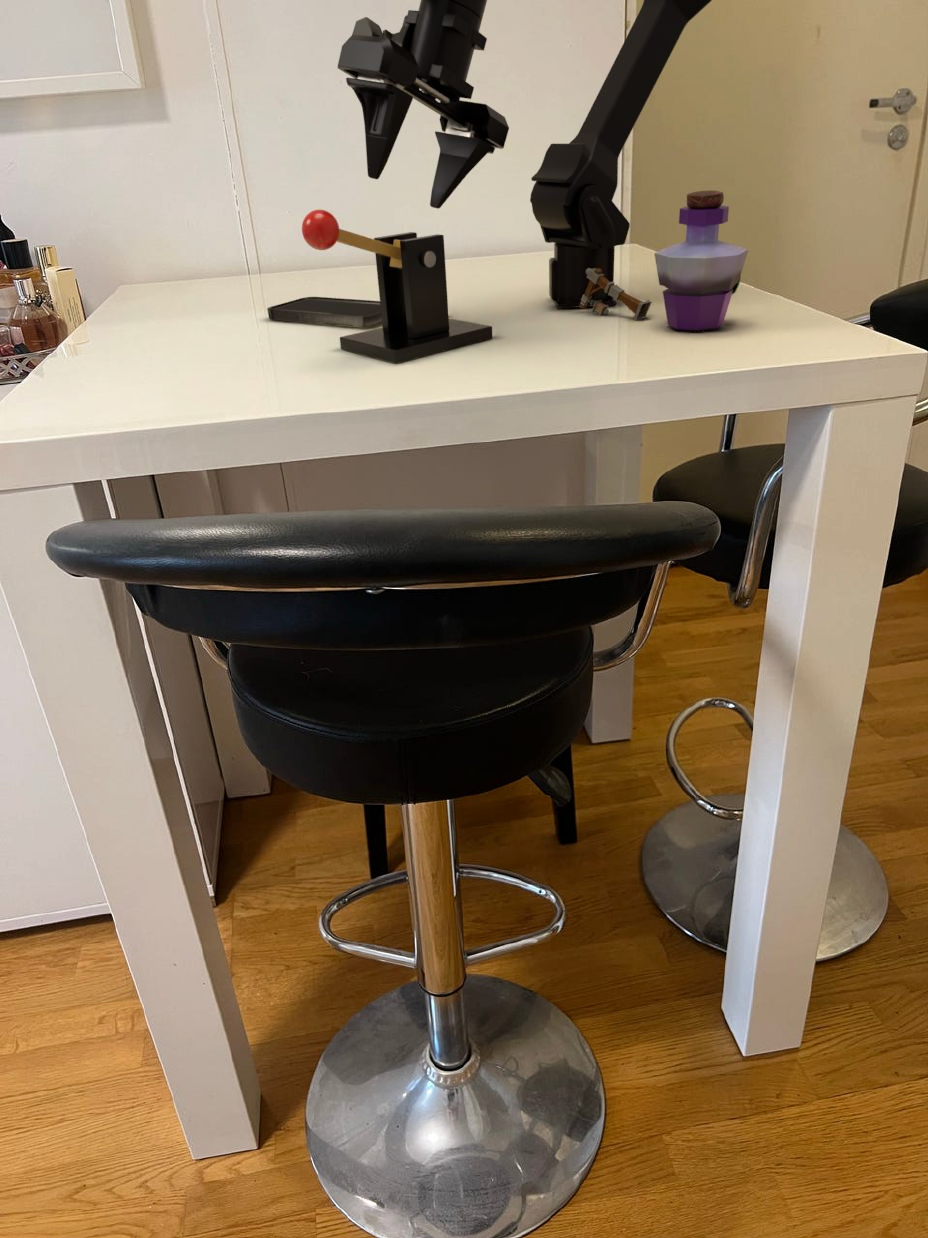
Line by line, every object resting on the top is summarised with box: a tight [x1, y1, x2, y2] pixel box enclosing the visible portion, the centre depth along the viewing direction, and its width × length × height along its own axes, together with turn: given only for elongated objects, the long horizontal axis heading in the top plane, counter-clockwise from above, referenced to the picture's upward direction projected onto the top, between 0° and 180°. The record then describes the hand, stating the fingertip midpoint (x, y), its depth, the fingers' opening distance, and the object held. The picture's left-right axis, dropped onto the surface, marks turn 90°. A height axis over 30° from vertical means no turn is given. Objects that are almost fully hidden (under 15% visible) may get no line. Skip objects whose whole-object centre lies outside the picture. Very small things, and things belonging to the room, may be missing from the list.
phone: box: [266, 296, 382, 328], centre depth 100 cm, size 8×1×15 cm
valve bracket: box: [339, 231, 494, 364], centre depth 85 cm, size 12×9×10 cm
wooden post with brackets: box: [578, 268, 653, 321], centre depth 93 cm, size 2×8×4 cm, turn 48°
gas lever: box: [301, 209, 402, 270], centre depth 79 cm, size 13×3×3 cm, turn 131°
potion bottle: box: [654, 189, 749, 334], centre depth 84 cm, size 9×9×12 cm
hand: (405, 193), depth 85 cm, fingers open, 9 cm apart
